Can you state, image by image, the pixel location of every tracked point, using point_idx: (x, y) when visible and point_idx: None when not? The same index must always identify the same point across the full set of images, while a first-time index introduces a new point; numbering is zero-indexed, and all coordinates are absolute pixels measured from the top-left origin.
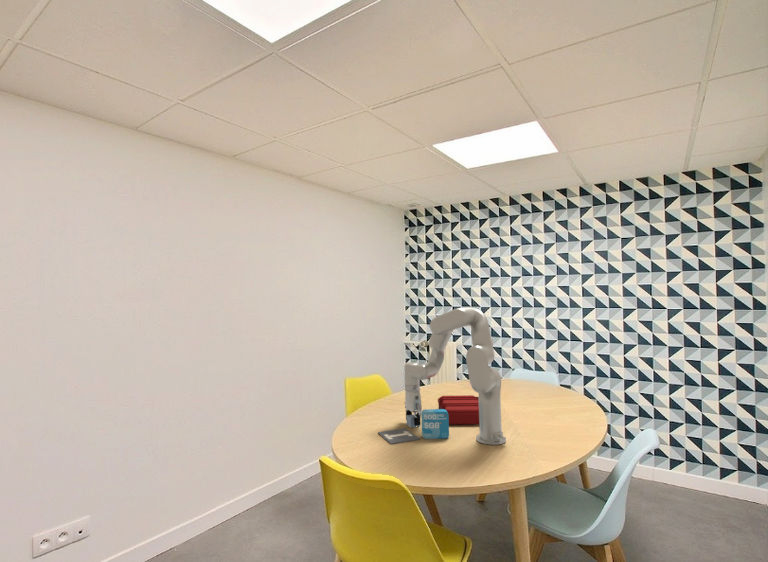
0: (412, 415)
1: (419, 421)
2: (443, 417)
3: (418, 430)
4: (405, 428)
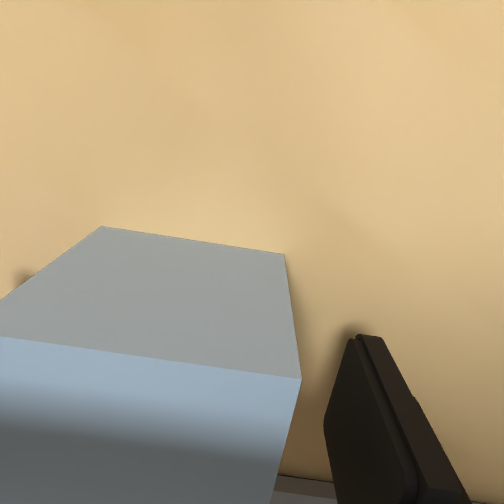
0: (74, 463)
1: (431, 430)
2: None
3: (413, 373)
4: (273, 492)
